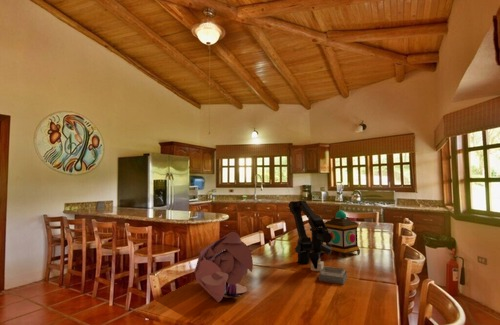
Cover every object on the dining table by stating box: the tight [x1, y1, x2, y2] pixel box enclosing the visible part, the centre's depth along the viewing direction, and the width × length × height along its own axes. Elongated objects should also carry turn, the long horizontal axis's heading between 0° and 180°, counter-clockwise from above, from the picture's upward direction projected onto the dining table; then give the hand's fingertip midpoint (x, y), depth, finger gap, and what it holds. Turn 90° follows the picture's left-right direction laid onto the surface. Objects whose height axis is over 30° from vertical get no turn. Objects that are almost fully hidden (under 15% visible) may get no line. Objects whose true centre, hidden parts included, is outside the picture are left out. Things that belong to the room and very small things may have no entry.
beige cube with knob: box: [310, 259, 325, 272], centre depth 159 cm, size 6×6×6 cm
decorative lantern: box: [324, 210, 361, 259], centre depth 195 cm, size 20×20×30 cm
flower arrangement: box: [193, 231, 254, 303], centre depth 129 cm, size 35×24×28 cm
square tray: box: [318, 265, 348, 286], centre depth 143 cm, size 12×12×4 cm
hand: (317, 267), depth 159 cm, fingers closed on beige cube with knob, 6 cm apart
